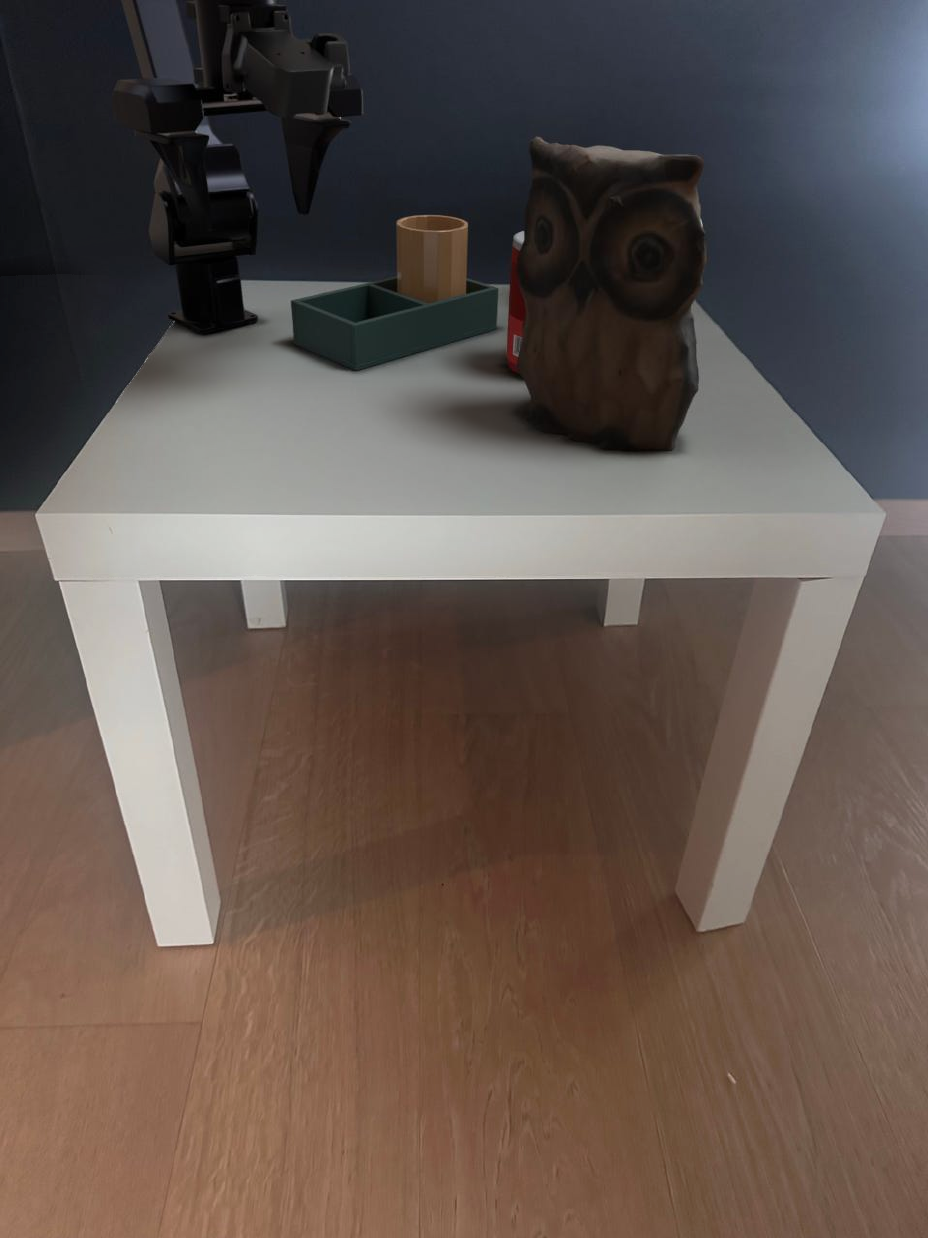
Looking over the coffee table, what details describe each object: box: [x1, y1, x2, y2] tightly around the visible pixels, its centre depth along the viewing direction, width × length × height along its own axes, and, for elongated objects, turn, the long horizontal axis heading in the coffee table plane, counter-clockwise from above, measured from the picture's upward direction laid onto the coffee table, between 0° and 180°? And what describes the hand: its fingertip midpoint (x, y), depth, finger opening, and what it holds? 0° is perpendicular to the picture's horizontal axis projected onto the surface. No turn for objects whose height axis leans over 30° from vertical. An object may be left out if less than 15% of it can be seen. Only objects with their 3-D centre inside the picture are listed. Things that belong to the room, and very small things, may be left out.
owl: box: [516, 136, 707, 452], centre depth 67 cm, size 13×13×20 cm
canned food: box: [505, 230, 526, 375], centre depth 80 cm, size 8×8×11 cm
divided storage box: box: [290, 275, 499, 371], centre depth 87 cm, size 9×18×4 cm, turn 134°
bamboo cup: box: [395, 214, 469, 304], centre depth 88 cm, size 7×7×9 cm
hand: (256, 221), depth 74 cm, fingers open, 9 cm apart
